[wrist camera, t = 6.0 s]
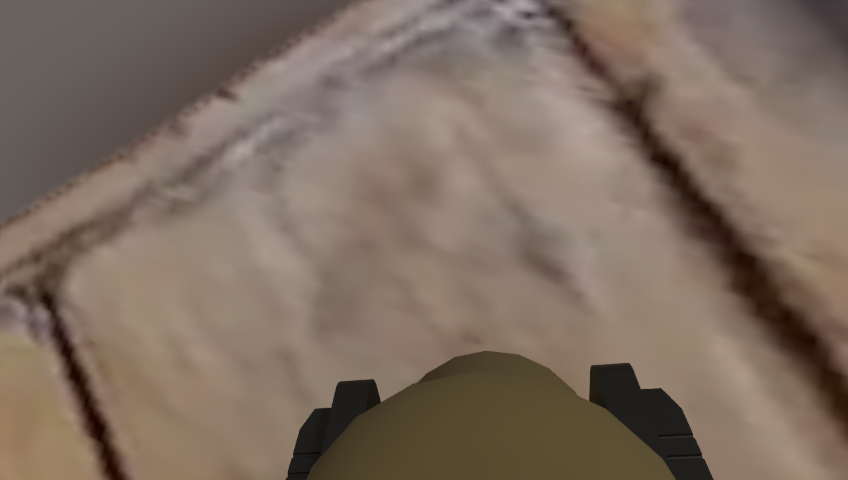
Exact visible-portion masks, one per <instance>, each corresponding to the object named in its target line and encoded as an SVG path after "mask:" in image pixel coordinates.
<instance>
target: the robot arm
mask: <svg viewBox="0 0 848 480" xmlns="http://www.w3.org/2000/svg"><path fill="white" fill-rule="evenodd" d="M589 401H590V402H592V403H594V404H596V405H599V406H601V407H603V408H605V409H607V410H608V411H609V412H610V413H611V414H612V415H613V416H615V417H616V418H617V419H618V420H619V421H620V422H621V423H623V424H624V425H625V426H626V427H627V428H628V429H629V430H630V431H632V432H633V433H634V434H635V435H636V436H637V437H638V438H640V439H641V440H642V441H643V442H644V443H645V444H646V445H647V446H649V447H650V448H651V449H652V450H653V451H654V452H655V453H657V454H658V455H659V456H660V457H661V458H662V459H663V460H664V462H665V463H666V465H667V467H668V468H669V470H670V471H671V473H672V474H673V476H674V478H675V479H676V480H713V478H712V475H711V473H710V471H709V469H708V466H707V464H706V462H705V460H704V459H703V458H702V453H701V451H700V449H699V446H698V444H697V442H696V440H695V438H693V433H692V431H691V428H690V426H689V424H688V422H687V419H686V417H685V415H684V413H683V411H682V409H681V408H680V407H679V406H678V405H677V404H676V403H675V402H674V401H673V400H672V399H671V398H670V397H669V396H668V395H667V394H666V393H665V392H664V391H663V390H662V389H661V388H657V389H640V386H639V383H638V381H637V378H636V376H635V373H634V370H633V368H632V366H631V365H630V364H629V363H620V364H605V365H592V366H591V369H590V394H589ZM380 403H381V401H380V397H379V393H378V389H377V386H376V383H375V381H374V380H373V379H370V380H355V381H340V382H339V383H338V384H337V387H336V390H335V394H334V399H333V403H332V407H331V408H319V409H315V410H314V411H313V412H312V414H311V415H310V416H309V418H308V419H307V421H306V422H305V423H304V425H303V426H302V427H301V429H300V431H299V434H298V438H297V441H296V445H295V448H294V452H293V458H292V459H291V462H290V466H289V470H288V477H287V478H286V480H306V479H307V477H308V475H309V472H310V470H311V468H312V466H313V465H314V464H315V463H316V462H317V461H318V459H319V458H320V457H321V456H322V455H323V454H324V453H325V452H326V451H327V449H328V448H329V447H330V446H331V445H332V444H333V443H334V442H335V440H336V439H337V438H338V437H339V436H340V435H341V434H342V433H343V431H344V430H345V429H346V428H347V427H348V426H349V425H350V424H351V422H352V421H353V420H354V419H355V418H356V417H357V416H359V415H361V414H362V413H364V412H366V411H368V410H369V409H371V408H373V407H374V406H376V405H378V404H380Z"/></svg>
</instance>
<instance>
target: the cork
mask: <svg viewBox="0 0 848 480" xmlns="http://www.w3.org/2000/svg"><path fill="white" fill-rule="evenodd" d="M306 480H676V479H675V478H674V476H673V474H672V473H671V471H670V470H669V468H668V467H667V465H666V463H665V462H664V460H663V459H662V458H661V457H660V456H659V455H658V454H657V453H655V452H654V451H653V450H652V449H651V448H650V447H649V446H647V445H646V444H645V443H644V442H643V441H642V440H641V439H640V438H638V437H637V436H636V435H635V434H634V433H633V432H632V431H630V430H629V429H628V428H627V427H626V426H625V425H624V424H623V423H621V422H620V421H619V420H618V419H617V418H616V417H615V416H613V415H612V414H611V413H610V412H609V411H608V410H607V409H605V408H603V407H601V406H599V405H596V404H594V403H592V402H590V401H588V400H586V399H583V398H581V397H579V396H577V394H576V393H575V391H574V390H573V389H571V388H570V387H569V386H568V385H567V384H566V383H565V382H564V381H562V380H561V379H560V378H559V377H558V376H557V375H556V374H555V373H553V372H552V371H551V370H550V369H549V368H547V367H545V366H542V365H540V364H538V363H536V362H533V361H531V360H529V359H527V358H525V357H522V356H520V355H517V354H509V353H500V352H491V351H483V352H478V353H474V354H469V355H464V356H459V357H455V358H453V359H451V360H449V361H448V362H446V363H444V364H443V365H441V366H439V367H437V368H436V369H434V370H432V371H431V372H429V373H427V374H426V375H425V376H424V378H423V379H422V380H421V381H420V382H419V383H417V384H412V385H410V386H409V387H407V388H405V389H404V390H402V391H400V392H398V393H397V394H395V395H393V396H392V397H390V398H388V399H386V400H385V401H383V402H381V403H380V404H378V405H376V406H374V407H373V408H371V409H369V410H368V411H366V412H364V413H362V414H361V415H359V416H357V417H356V418H355V419H354V420H353V421H352V422H351V424H350V425H349V426H348V427H347V428H346V429H345V430H344V431H343V433H342V434H341V435H340V436H339V437H338V438H337V439H336V440H335V442H334V443H333V444H332V445H331V446H330V447H329V448H328V449H327V451H326V452H325V453H324V454H323V455H322V456H321V457H320V458H319V459H318V461H317V462H316V463H315V464H314V465H313V466H312V468H311V470H310V472H309V475H308V477H307V479H306Z"/></svg>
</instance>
